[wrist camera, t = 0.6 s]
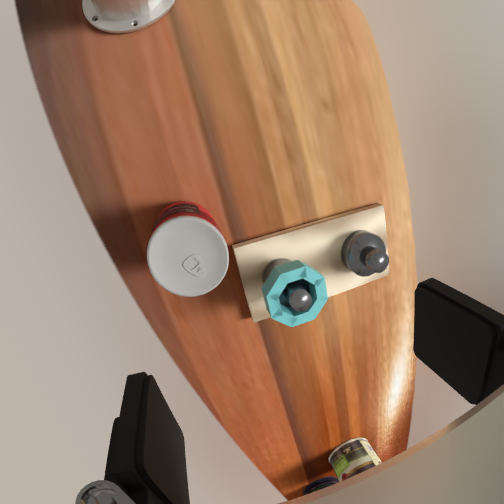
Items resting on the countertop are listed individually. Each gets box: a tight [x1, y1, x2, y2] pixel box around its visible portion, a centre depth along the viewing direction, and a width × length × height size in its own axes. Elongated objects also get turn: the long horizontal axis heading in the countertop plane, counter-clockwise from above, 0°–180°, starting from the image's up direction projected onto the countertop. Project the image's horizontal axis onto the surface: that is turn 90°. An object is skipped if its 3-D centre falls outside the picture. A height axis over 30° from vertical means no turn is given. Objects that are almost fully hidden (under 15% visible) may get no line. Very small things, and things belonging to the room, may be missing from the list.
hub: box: [341, 230, 389, 277], centre depth 42 cm, size 6×6×6 cm
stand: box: [262, 258, 312, 312], centre depth 39 cm, size 5×5×8 cm
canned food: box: [147, 202, 229, 297], centre depth 35 cm, size 8×8×11 cm
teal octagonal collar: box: [261, 260, 328, 327], centre depth 37 cm, size 7×7×2 cm
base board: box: [232, 203, 389, 322], centre depth 44 cm, size 11×22×2 cm, turn 105°
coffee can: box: [329, 438, 382, 482], centre depth 55 cm, size 10×10×14 cm
